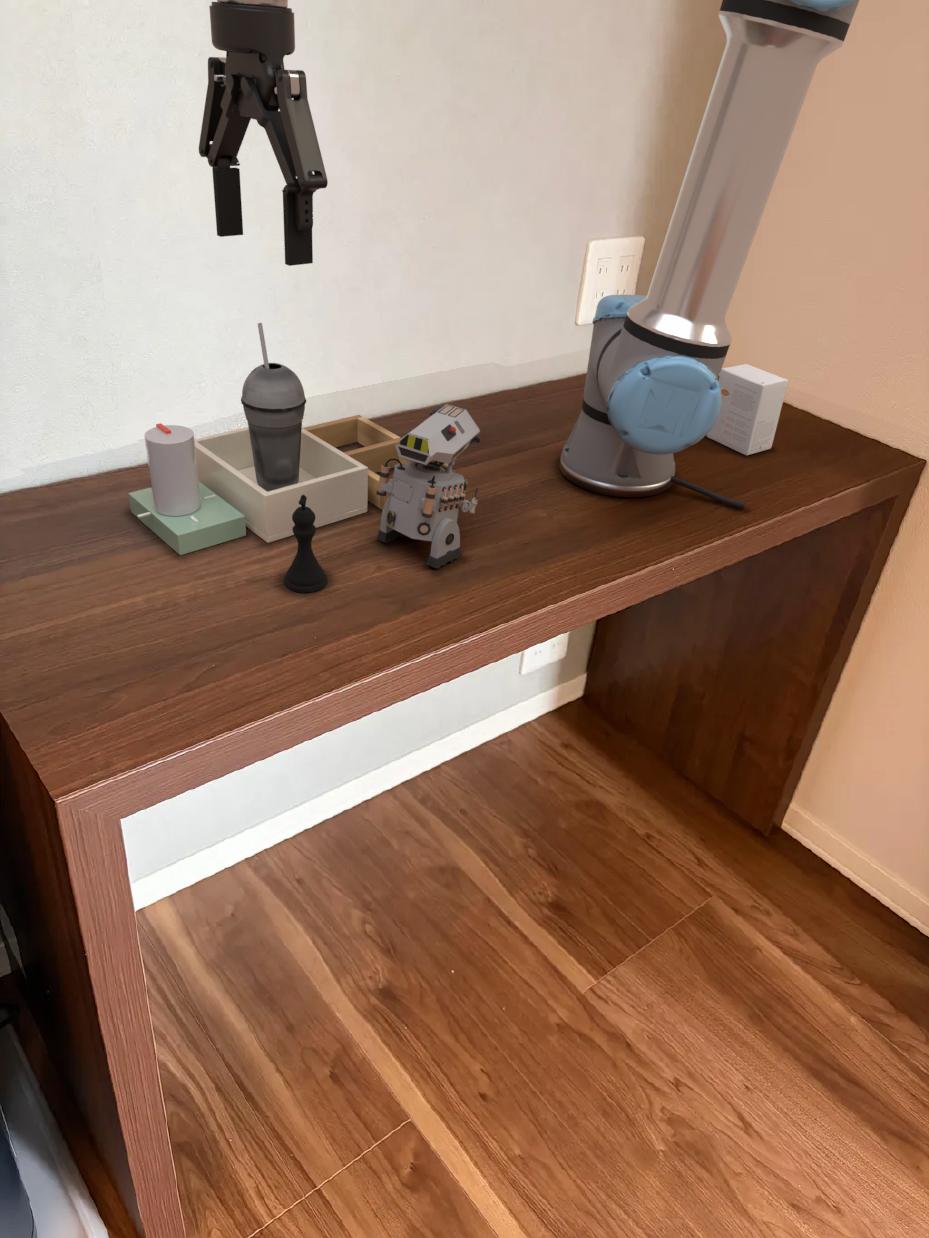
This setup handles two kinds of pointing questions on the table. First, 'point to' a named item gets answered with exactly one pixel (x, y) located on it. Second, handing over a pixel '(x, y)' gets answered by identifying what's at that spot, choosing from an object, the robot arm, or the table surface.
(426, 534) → the figurine
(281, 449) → the beverage cup
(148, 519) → the green dial base plate
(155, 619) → the table surface
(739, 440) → the small box
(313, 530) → the chess piece
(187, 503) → the tap knob
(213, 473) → the cream open storage tray
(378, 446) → the wooden compartment tray
